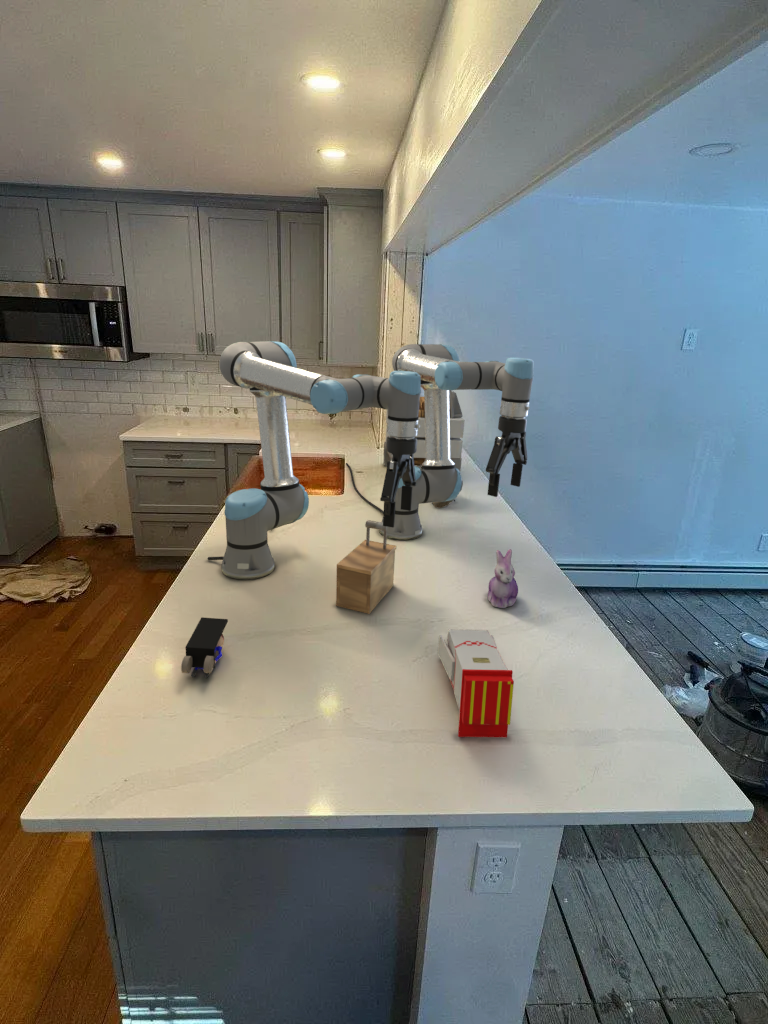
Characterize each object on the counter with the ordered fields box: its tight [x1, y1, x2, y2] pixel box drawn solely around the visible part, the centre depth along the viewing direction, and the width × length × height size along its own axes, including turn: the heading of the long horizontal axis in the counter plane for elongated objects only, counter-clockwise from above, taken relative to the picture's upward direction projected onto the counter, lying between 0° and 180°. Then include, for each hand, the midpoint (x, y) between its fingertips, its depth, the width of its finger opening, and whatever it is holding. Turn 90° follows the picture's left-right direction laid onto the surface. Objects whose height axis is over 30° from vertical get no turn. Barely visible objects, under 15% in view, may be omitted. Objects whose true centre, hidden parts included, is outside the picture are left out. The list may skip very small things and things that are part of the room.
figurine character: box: [180, 616, 229, 679], centre depth 123 cm, size 7×8×15 cm
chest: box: [335, 550, 396, 615], centre depth 154 cm, size 18×10×11 cm, turn 159°
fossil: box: [431, 480, 464, 509], centre depth 235 cm, size 22×10×15 cm
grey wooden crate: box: [383, 390, 465, 475], centre depth 268 cm, size 34×33×41 cm
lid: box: [336, 519, 397, 575], centre depth 151 cm, size 18×10×8 cm, turn 159°
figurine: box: [487, 548, 519, 609], centre depth 154 cm, size 9×10×15 cm
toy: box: [437, 628, 515, 738], centre depth 117 cm, size 12×13×30 cm
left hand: (397, 517), depth 146 cm, fingers open, 13 cm apart
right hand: (504, 490), depth 162 cm, fingers open, 13 cm apart
